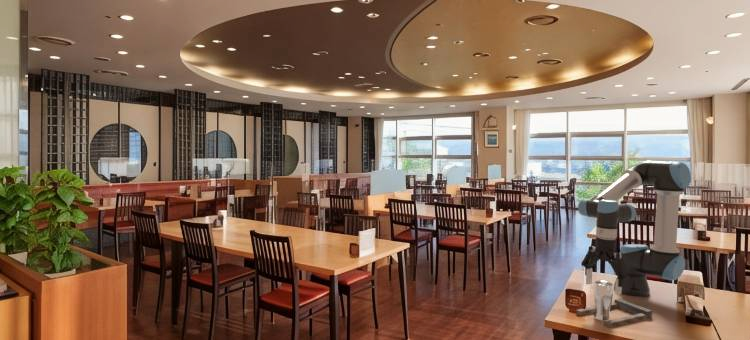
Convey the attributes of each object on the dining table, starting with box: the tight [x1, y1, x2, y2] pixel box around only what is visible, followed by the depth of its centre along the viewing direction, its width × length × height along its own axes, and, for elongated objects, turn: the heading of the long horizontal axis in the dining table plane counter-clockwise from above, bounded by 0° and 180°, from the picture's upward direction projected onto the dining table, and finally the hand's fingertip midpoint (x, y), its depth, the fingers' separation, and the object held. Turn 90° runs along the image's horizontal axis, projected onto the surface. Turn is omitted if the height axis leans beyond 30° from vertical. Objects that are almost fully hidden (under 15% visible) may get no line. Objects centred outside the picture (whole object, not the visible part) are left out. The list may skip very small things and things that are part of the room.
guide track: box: [575, 298, 653, 329], centre depth 183 cm, size 26×15×3 cm, turn 114°
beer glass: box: [593, 280, 614, 322], centre depth 179 cm, size 7×7×15 cm
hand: (602, 288), depth 179 cm, fingers open, 13 cm apart
